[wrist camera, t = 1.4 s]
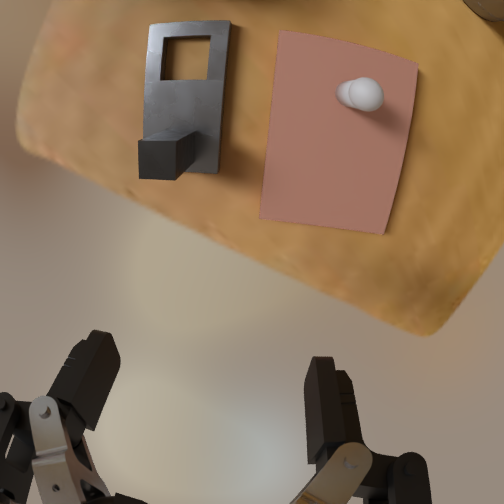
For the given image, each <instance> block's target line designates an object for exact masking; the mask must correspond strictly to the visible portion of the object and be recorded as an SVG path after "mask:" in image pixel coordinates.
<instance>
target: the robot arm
mask: <svg viewBox="0 0 504 504" xmlns="http://www.w3.org/2000/svg"><path fill="white" fill-rule="evenodd" d="M463 1H464V2H465V3H466V4H467V5H468V6H469V7H470V8H471V9H472V10H473V11H474V12H475V13H477V14H478V15H479V16H481V17H482V18H484V19H486V20H489V21H492V22H499V21H504V0H463ZM119 368H120V355H119V352H118V350H117V347H116V345H115V342H114V339H113V337H112V334H111V333H108V332H103V331H99V330H93V331H92V332H91V333H90V334H89V336H88V338H87V340H83V339H82V340H81V341H80V342H79V343H78V344H77V345H75V346H74V347H73V349H72V350H71V352H70V354H69V356H68V358H67V359H66V361H65V363H64V366H62V368H61V370H60V372H59V374H58V375H57V377H56V379H55V381H54V383H53V384H52V386H51V388H50V390H49V392H48V394H47V395H46V396H40V397H38V398H36V399H35V400H34V401H33V402H24V401H16V400H15V399H14V398H13V397H12V396H11V395H10V394H9V393H7V392H2V393H0V504H26V501H27V497H28V493H29V489H30V486H31V482H32V479H33V475H34V476H35V479H36V483H37V486H38V490H39V493H40V496H41V499H42V502H43V504H147V503H146V502H144V501H142V500H138V499H135V498H131V497H128V496H125V495H122V494H119V493H116V494H115V496H111V495H110V493H109V491H108V489H107V487H106V485H105V483H104V482H103V480H102V479H101V478H100V476H99V475H98V473H97V471H96V468H95V465H94V463H93V460H92V457H91V455H90V452H89V449H88V446H87V443H86V440H85V437H84V435H83V433H84V430H85V428H86V429H89V430H92V431H94V430H95V428H96V425H97V422H98V420H99V417H100V415H101V412H102V410H103V407H104V405H105V402H106V400H107V397H108V395H109V392H110V390H111V388H112V385H113V383H114V381H115V378H116V376H117V373H118V371H119ZM304 401H305V417H306V435H307V456H308V464H316V474H315V475H314V476H313V477H312V478H311V479H310V481H309V482H308V483H307V484H306V485H305V487H304V488H303V489H302V490H301V491H300V492H299V494H298V495H297V496H296V497H295V498H294V499H293V500H292V502H291V503H290V504H347V502H348V501H349V500H350V498H351V497H352V496H354V497H360V498H363V504H432V500H431V490H430V483H429V477H428V469H427V464H426V461H425V459H424V458H423V457H422V456H421V455H419V454H417V453H414V452H407V453H404V454H402V455H401V456H399V457H394V456H387V455H382V454H377V453H375V452H373V451H371V450H370V449H369V448H368V447H367V446H366V445H365V443H364V441H363V439H362V434H361V427H360V422H359V416H358V410H357V405H356V400H355V395H354V389H353V384H352V381H351V379H350V378H349V376H348V375H347V373H346V372H345V371H344V370H335V364H334V359H333V357H315V356H314V357H313V358H312V360H311V363H310V366H309V369H308V372H307V375H306V378H305V382H304ZM12 434H13V435H15V436H14V438H13V441H12V444H11V447H10V449H9V452H8V455H7V458H6V459H5V453H6V450H7V448H8V445H9V442H10V440H11V437H12Z"/></svg>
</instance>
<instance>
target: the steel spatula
mask: <svg viewBox="0 0 504 504" xmlns="http://www.w3.org/2000/svg"><path fill="white" fill-rule="evenodd" d="M231 25H232V23H231V22H230V21H186V22H172V23H161V24H152V25H150V29H149V38H148V48H147V59H146V72H145V89H144V119H143V139H141V140H139V141H138V161H139V179H158V180H176V179H177V178H178V177H179V176H181V175H182V174H183V173H184V172H199V173H213V174H218V172H219V168H220V152H221V137H222V122H223V109H224V97H225V85H226V74H227V63H228V53H229V43H230V34H231ZM206 37H211V41H210V51H209V61H208V73H207V80H165V81H164V77H165V64H166V52H167V42H168V39H178V38H206Z"/></svg>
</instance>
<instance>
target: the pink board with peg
mask: <svg viewBox="0 0 504 504" xmlns="http://www.w3.org/2000/svg"><path fill="white" fill-rule="evenodd" d="M417 73H418V63H415V62H413V61H410V60H407V59H404V58H402V57H399V56H396V55H393V54H390V53H386V52H383V51H380V50H377V49H373V48H370V47H366V46H362V45H359V44H355V43H351V42H346V41H342V40H337V39H333V38H328V37H323V36H317V35H312V34H305V33H299V32H292V31H284V30H279V38H278V47H277V57H276V66H275V76H274V85H273V95H272V104H271V113H270V123H269V132H268V141H267V150H266V160H265V169H264V178H263V187H262V196H261V205H260V215H259V219H266V220H275V221H284V222H292V223H301V224H309V225H317V226H325V227H333V228H340V229H348V230H355V231H362V232H369V233H376V234H383V235H384V232H385V228H386V225H387V222H388V218H389V215H390V211H391V207H392V204H393V200H394V196H395V192H396V189H397V185H398V180H399V176H400V172H401V168H402V163H403V159H404V154H405V149H406V144H407V139H408V134H409V129H410V123H411V117H412V111H413V104H414V98H415V90H416V82H417Z"/></svg>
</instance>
